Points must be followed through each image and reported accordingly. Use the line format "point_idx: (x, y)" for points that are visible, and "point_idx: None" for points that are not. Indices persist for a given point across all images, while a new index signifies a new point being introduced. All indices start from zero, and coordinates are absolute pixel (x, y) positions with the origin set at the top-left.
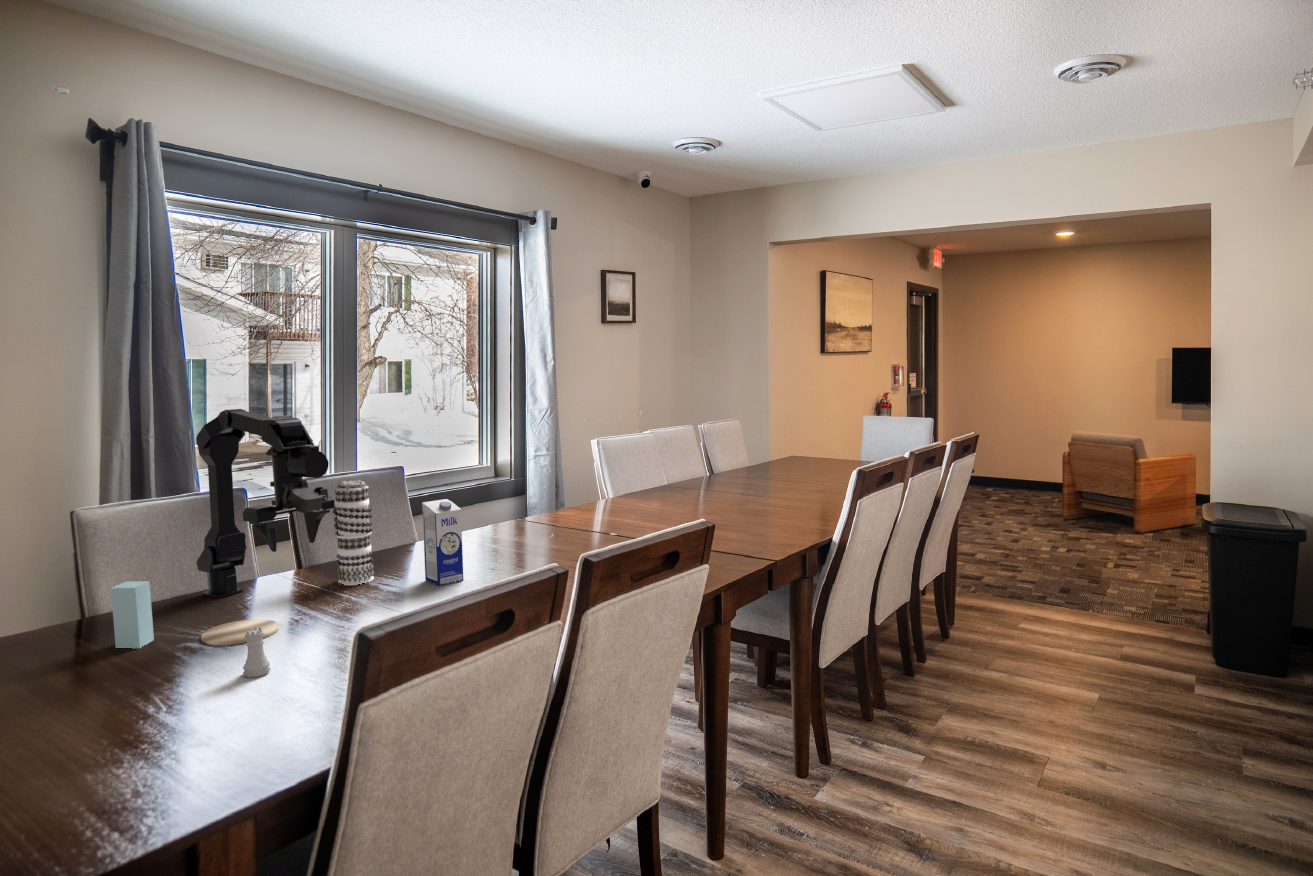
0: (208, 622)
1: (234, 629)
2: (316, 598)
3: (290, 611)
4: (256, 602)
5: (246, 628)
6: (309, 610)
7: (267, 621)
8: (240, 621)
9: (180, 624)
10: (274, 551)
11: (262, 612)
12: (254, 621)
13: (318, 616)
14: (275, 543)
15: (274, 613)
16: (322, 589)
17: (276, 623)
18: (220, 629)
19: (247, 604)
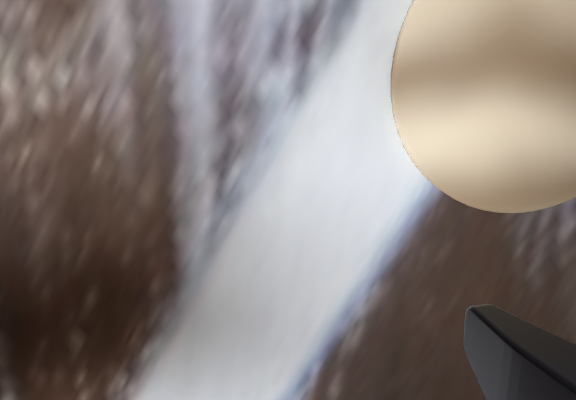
0: (499, 301)
1: (541, 110)
2: (85, 270)
3: (253, 188)
4: (275, 391)
5: (513, 79)
6: (191, 132)
7: (411, 97)
8: (466, 192)
9: None
10: (488, 308)
11: (328, 264)
12: (439, 145)
13: (209, 5)
14: (547, 356)
15: (308, 215)
16: (8, 366)
17: (408, 33)
18: (563, 157)
19: (307, 392)
